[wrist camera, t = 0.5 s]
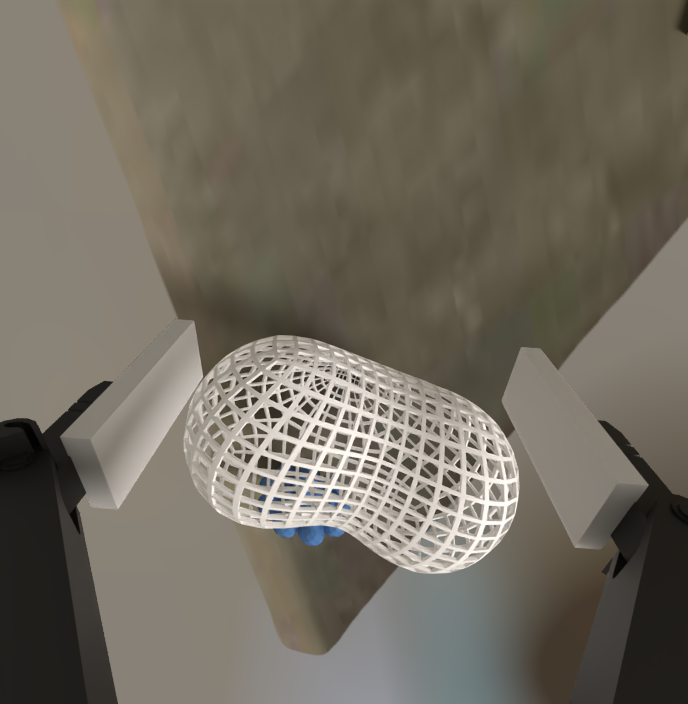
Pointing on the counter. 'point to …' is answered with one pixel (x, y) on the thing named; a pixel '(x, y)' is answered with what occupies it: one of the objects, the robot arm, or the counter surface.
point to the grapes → (306, 533)
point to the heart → (350, 453)
